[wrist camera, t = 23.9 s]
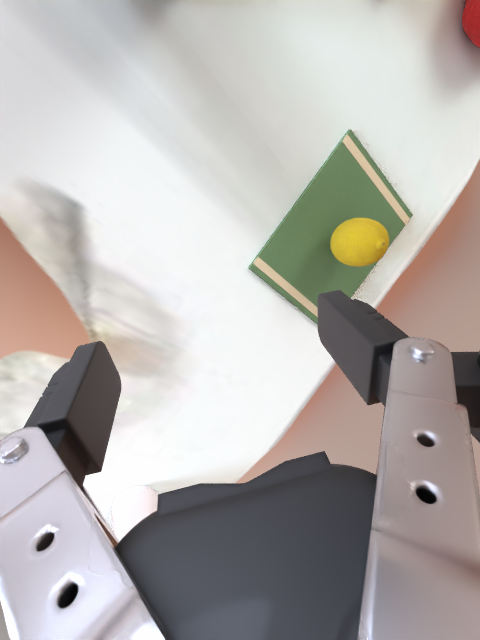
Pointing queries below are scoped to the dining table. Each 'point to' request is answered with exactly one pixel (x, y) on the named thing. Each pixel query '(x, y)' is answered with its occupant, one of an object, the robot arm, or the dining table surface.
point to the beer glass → (132, 508)
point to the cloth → (328, 228)
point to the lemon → (359, 242)
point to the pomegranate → (472, 20)
